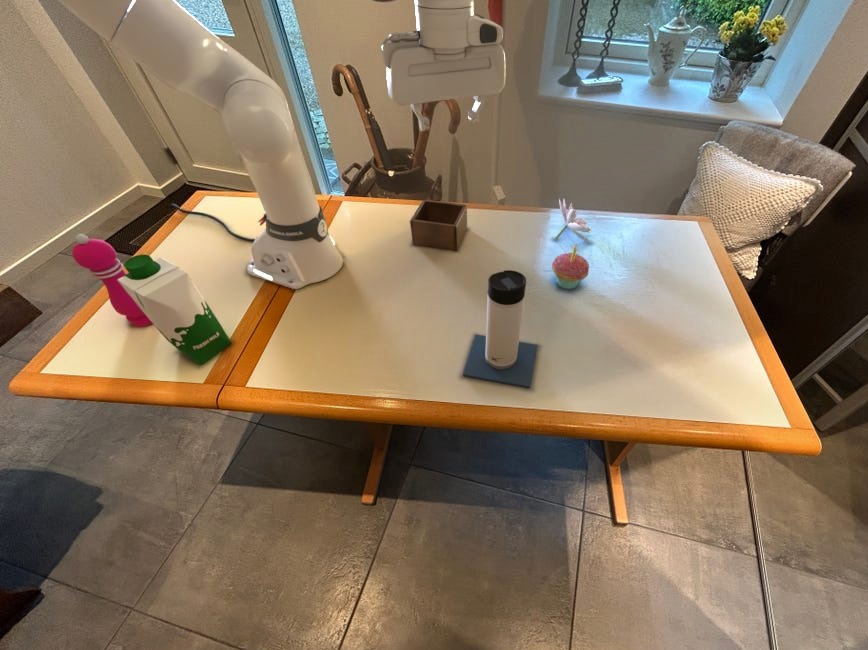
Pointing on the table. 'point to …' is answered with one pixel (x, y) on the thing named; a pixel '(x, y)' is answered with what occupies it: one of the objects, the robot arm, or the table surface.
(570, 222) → the water lily
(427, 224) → the cubby
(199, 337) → the milk carton
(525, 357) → the mat
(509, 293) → the travel mug
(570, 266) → the cupcake
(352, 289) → the table surface
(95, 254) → the pepper mill
